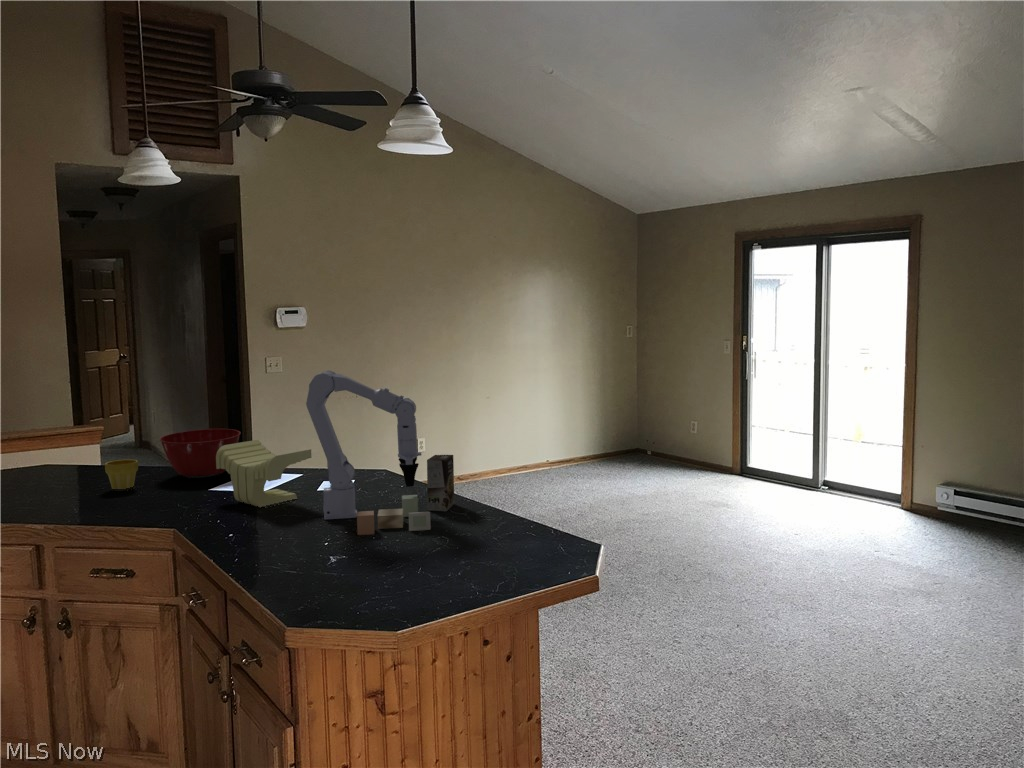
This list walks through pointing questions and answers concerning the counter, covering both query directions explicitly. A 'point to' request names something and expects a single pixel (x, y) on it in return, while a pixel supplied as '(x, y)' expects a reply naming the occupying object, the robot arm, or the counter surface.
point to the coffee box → (440, 482)
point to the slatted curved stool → (256, 471)
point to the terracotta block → (365, 522)
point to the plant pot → (121, 473)
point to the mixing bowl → (197, 450)
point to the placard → (419, 521)
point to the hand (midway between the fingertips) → (409, 483)
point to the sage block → (409, 504)
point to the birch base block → (390, 518)
